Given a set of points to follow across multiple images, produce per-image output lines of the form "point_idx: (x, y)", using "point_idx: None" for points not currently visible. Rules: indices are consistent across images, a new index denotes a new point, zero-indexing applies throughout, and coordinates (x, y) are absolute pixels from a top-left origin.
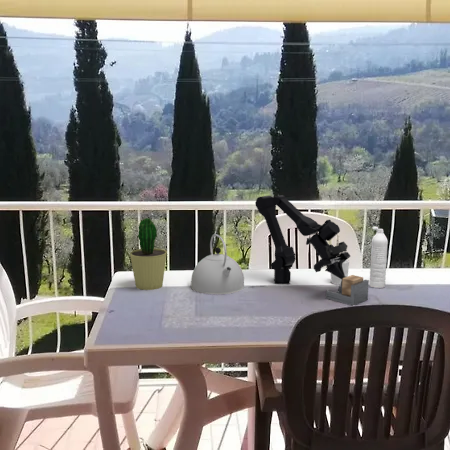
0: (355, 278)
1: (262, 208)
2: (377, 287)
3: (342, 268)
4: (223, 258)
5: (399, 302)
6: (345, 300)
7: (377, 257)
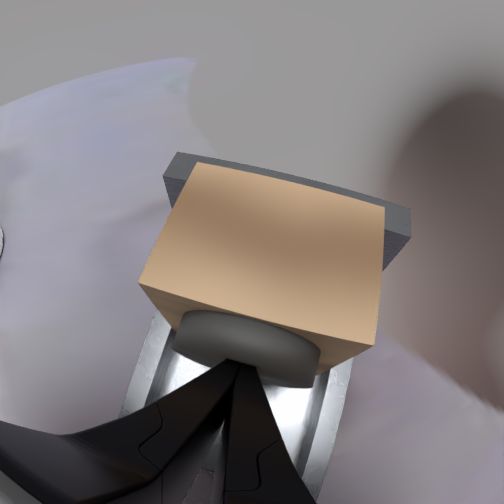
0: (282, 211)
1: None
2: (1, 243)
3: (134, 416)
4: None
5: (178, 130)
6: None
7: None
